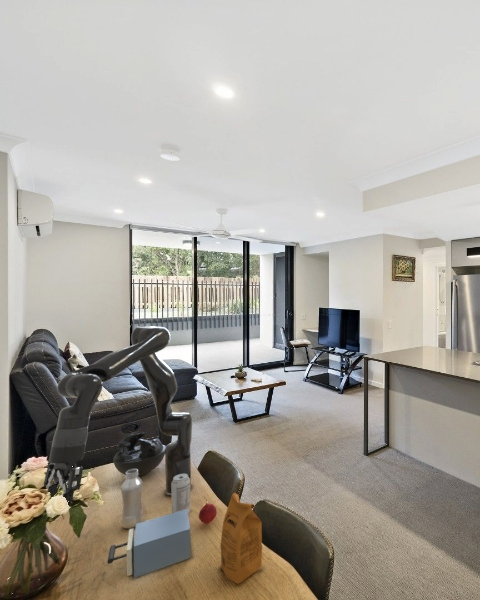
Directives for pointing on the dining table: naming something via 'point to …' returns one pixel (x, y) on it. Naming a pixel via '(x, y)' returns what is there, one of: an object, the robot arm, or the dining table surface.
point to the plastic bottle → (132, 499)
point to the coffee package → (240, 541)
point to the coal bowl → (138, 454)
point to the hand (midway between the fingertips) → (57, 504)
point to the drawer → (129, 554)
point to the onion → (207, 513)
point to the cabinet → (161, 542)
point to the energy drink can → (180, 493)
